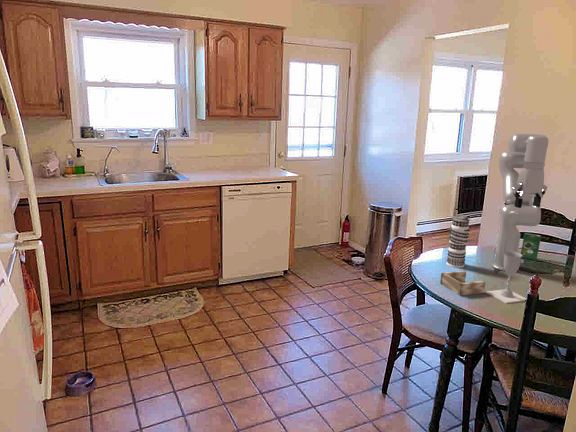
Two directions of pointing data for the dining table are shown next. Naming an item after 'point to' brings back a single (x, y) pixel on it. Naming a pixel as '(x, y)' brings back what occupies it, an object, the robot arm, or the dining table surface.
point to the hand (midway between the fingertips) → (527, 206)
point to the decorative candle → (458, 241)
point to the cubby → (454, 283)
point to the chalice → (510, 269)
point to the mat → (505, 299)
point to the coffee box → (530, 246)
